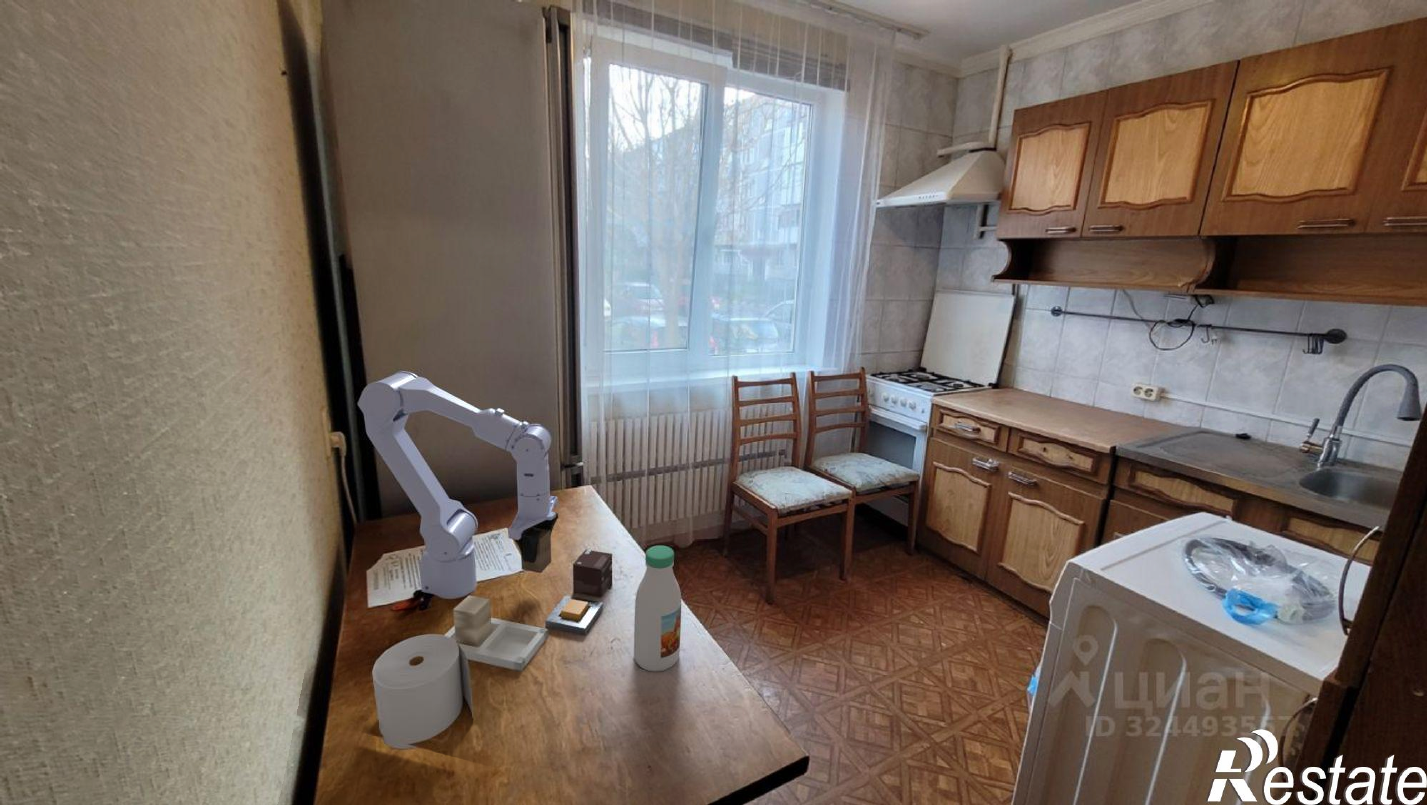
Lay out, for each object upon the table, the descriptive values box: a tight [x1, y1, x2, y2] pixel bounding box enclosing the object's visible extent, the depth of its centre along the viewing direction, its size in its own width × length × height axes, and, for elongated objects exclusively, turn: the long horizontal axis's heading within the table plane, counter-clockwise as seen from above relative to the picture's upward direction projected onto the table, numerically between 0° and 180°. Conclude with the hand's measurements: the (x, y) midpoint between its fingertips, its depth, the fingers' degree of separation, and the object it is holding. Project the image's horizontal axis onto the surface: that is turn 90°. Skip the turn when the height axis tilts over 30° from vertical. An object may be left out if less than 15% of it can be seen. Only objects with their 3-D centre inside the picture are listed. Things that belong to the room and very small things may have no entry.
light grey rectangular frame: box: [444, 617, 549, 672], centre depth 92 cm, size 16×8×2 cm, turn 78°
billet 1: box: [452, 594, 492, 648], centre depth 92 cm, size 4×4×7 cm
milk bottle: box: [633, 545, 682, 672], centre depth 90 cm, size 8×8×20 cm
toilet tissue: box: [371, 633, 474, 750], centre depth 77 cm, size 11×12×10 cm
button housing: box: [544, 595, 604, 637], centre depth 99 cm, size 8×8×2 cm
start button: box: [561, 599, 588, 621], centre depth 99 cm, size 4×4×3 cm
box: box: [572, 549, 613, 598], centre depth 109 cm, size 6×6×7 cm
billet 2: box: [520, 527, 552, 574], centre depth 105 cm, size 4×4×7 cm
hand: (535, 555), depth 105 cm, fingers closed on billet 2, 4 cm apart
